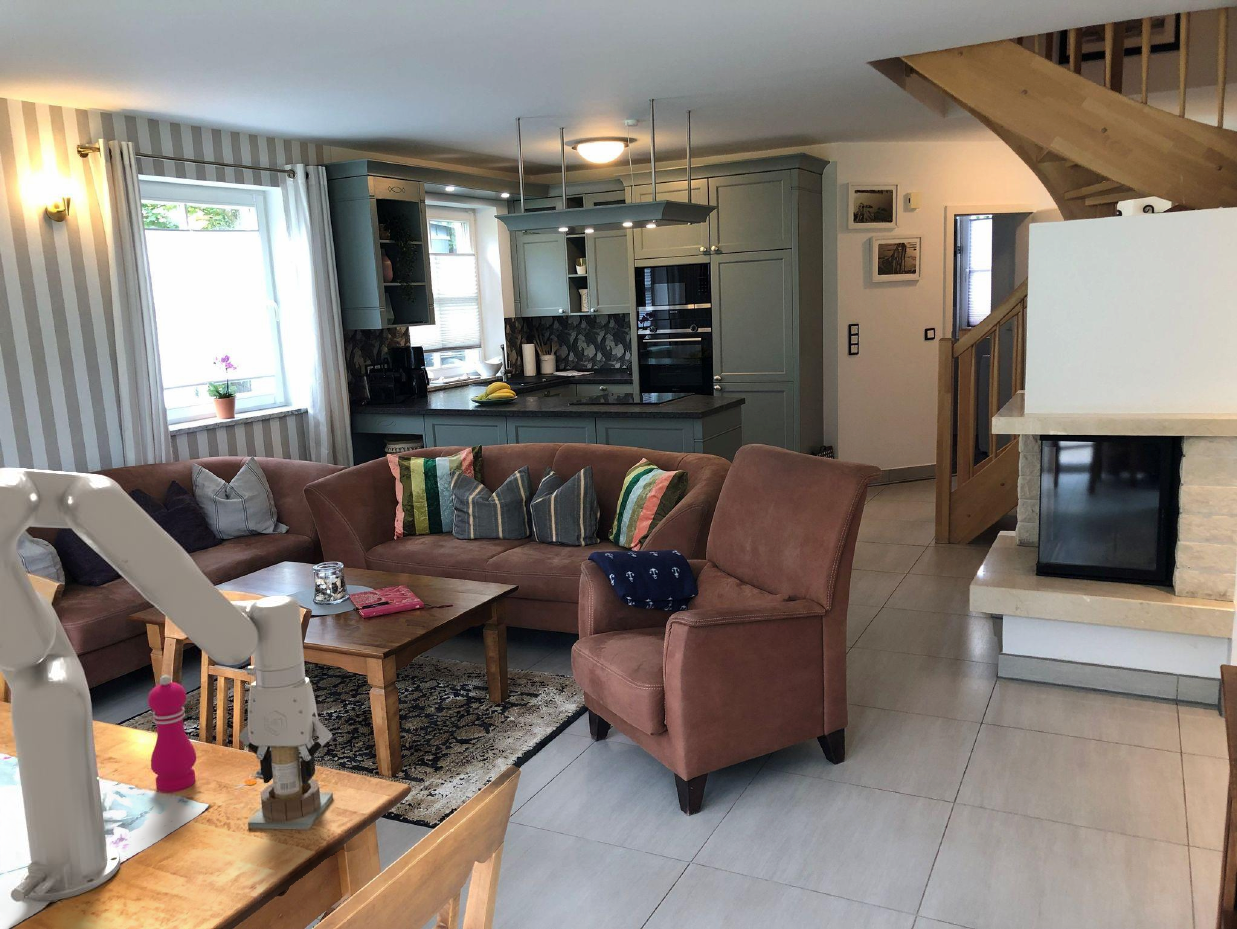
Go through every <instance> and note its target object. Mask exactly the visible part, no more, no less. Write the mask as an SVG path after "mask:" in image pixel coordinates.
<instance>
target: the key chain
mask: <svg viewBox="0 0 1237 929" xmlns="http://www.w3.org/2000/svg"><path fill="white" fill-rule="evenodd" d="M252 777H255V778H256V779H255V778H252ZM260 779H263V776H262V775H261V768H259V769H258V770H257V771H256V773H255V774H251V775H249V777H248V778H247V779H244V782H243V783H242V784H240V785H238V786H236V787H233V789H234V790H235V789H236V790H237V789H240V788H242V787H245V786H248V787H249V786H250V787H251V786H255V785H256V784H257V780H258V781H260Z"/></svg>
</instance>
